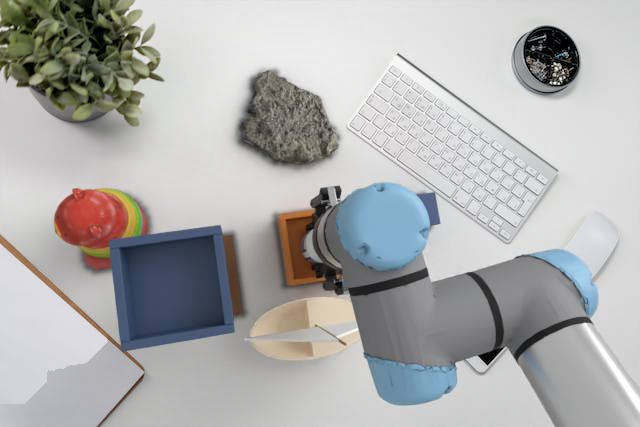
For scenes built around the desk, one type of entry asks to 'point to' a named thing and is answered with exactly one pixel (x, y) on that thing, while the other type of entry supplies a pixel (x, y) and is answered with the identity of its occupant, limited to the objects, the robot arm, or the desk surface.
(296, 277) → the amber bin
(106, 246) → the stacking bear
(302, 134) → the stone slab
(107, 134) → the desk surface
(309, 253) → the pill bottle
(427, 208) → the slate block
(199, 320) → the slate bin
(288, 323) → the toy sailboat
